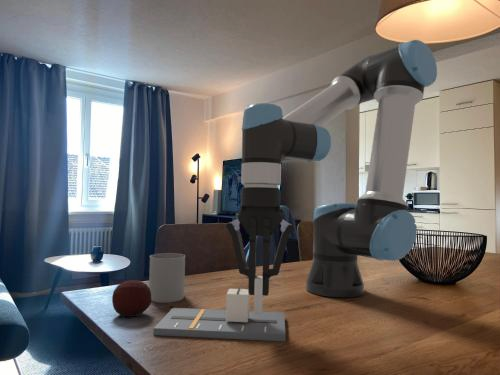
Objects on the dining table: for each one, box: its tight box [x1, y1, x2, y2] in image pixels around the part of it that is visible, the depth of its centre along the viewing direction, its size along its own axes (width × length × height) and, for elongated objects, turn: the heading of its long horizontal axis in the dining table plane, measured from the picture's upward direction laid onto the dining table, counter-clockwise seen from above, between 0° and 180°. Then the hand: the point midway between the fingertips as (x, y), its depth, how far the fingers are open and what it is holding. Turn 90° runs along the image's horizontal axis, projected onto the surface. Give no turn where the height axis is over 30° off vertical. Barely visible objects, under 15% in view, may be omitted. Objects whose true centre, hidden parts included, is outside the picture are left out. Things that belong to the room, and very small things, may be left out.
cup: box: [148, 252, 186, 303], centre depth 89 cm, size 8×8×10 cm
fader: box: [225, 287, 251, 322], centre depth 69 cm, size 4×4×5 cm
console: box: [153, 307, 287, 342], centre depth 69 cm, size 23×12×1 cm, turn 86°
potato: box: [111, 279, 152, 317], centre depth 75 cm, size 7×8×7 cm
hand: (258, 312), depth 69 cm, fingers closed
